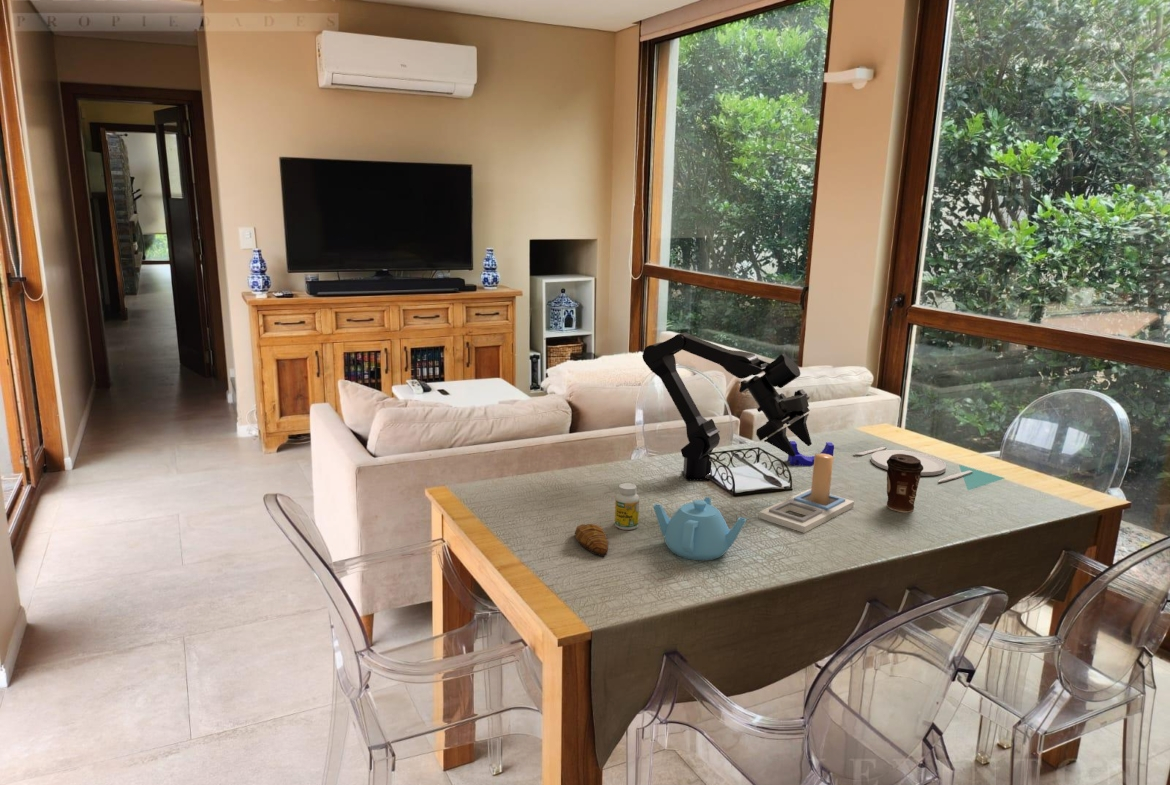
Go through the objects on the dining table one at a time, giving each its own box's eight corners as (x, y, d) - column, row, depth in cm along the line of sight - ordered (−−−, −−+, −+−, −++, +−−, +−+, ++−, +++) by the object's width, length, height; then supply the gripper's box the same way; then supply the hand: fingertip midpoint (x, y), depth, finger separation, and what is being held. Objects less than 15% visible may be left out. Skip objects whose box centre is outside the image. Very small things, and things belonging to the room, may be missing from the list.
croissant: (564, 535, 179) (564, 514, 178) (592, 531, 182) (592, 510, 181) (588, 561, 167) (589, 538, 166) (618, 556, 170) (619, 533, 169)
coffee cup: (874, 507, 202) (880, 457, 198) (888, 499, 207) (894, 450, 204) (909, 517, 196) (916, 465, 193) (923, 508, 202) (929, 458, 199)
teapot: (647, 539, 178) (650, 493, 176) (706, 530, 184) (709, 485, 182) (683, 569, 165) (686, 519, 162) (745, 557, 171) (749, 509, 168)
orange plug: (818, 510, 198) (823, 459, 195) (805, 504, 202) (810, 454, 199) (831, 508, 200) (837, 457, 197) (819, 502, 204) (824, 452, 201)
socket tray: (804, 532, 184) (805, 524, 184) (758, 517, 192) (759, 509, 192) (853, 506, 201) (854, 498, 201) (809, 493, 209) (810, 486, 209)
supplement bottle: (640, 523, 187) (642, 483, 185) (634, 532, 182) (636, 491, 180) (618, 520, 188) (619, 480, 186) (611, 528, 183) (613, 488, 181)
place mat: (810, 455, 245) (811, 448, 244) (872, 440, 262) (873, 433, 261) (950, 502, 209) (952, 493, 209) (1011, 481, 227) (1012, 473, 226)
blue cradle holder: (791, 465, 232) (792, 445, 231) (787, 460, 237) (789, 440, 235) (833, 467, 232) (835, 447, 230) (829, 462, 236) (831, 442, 235)
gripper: (773, 390, 192) (811, 446, 189) (807, 373, 206) (842, 425, 203) (740, 413, 199) (776, 467, 197) (775, 394, 213) (808, 445, 210)
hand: (802, 450), depth 201 cm, fingers open, 9 cm apart
